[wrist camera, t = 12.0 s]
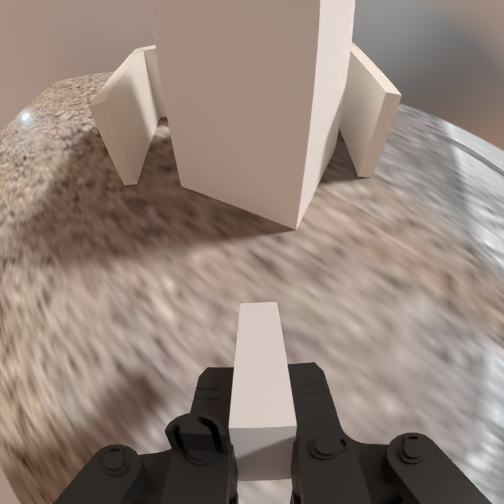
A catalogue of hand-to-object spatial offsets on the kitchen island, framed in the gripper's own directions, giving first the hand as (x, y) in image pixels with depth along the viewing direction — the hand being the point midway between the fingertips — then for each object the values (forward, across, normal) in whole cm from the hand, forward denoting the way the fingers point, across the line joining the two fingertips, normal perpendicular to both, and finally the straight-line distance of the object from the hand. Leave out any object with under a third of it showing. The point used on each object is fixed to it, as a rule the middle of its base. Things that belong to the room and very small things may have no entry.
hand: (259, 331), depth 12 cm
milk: (+18, -1, -7) cm, 20 cm away
